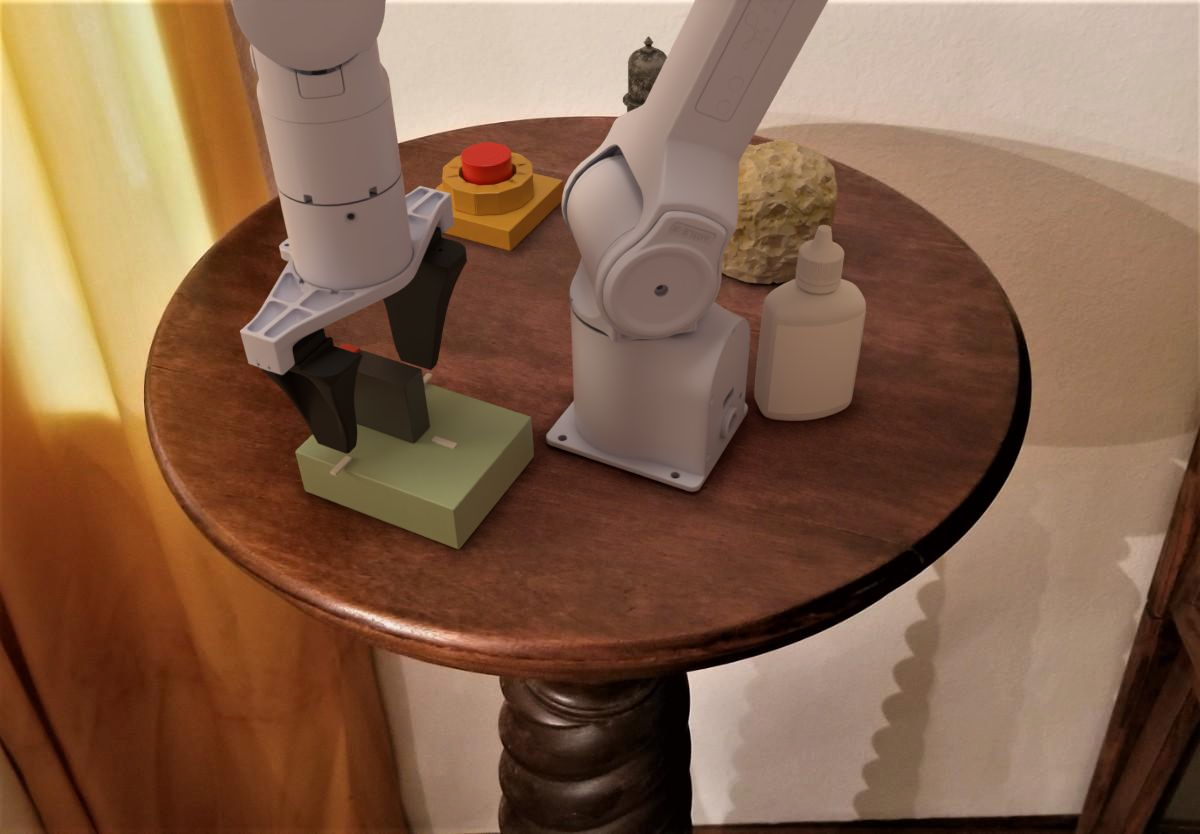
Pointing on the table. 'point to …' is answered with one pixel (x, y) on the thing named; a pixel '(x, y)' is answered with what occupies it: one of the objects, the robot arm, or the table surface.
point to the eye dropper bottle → (810, 337)
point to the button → (487, 164)
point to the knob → (390, 396)
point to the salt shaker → (642, 74)
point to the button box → (500, 203)
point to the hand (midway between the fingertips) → (379, 401)
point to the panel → (427, 467)
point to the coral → (778, 210)
